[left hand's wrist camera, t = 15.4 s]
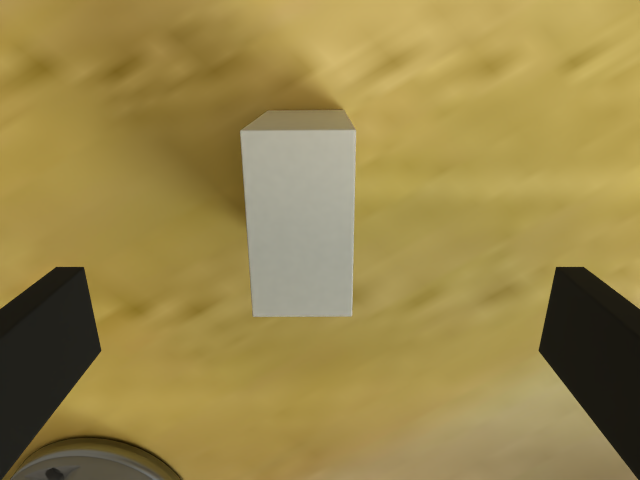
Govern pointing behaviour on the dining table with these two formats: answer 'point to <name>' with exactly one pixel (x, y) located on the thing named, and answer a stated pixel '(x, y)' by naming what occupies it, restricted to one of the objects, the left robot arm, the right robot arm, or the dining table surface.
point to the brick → (300, 212)
